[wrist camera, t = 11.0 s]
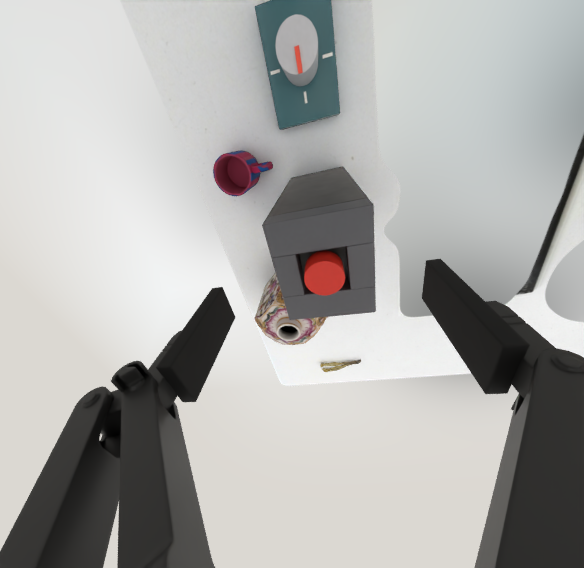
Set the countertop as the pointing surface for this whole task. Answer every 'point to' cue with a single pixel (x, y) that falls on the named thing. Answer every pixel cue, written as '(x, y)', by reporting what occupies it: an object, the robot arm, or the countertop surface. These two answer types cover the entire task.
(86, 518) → the robot arm
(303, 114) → the dial panel
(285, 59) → the dial
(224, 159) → the cup
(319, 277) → the power button
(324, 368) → the tongs
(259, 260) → the countertop surface
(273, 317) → the decorative jar
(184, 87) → the countertop surface
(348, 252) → the button box
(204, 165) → the countertop surface
